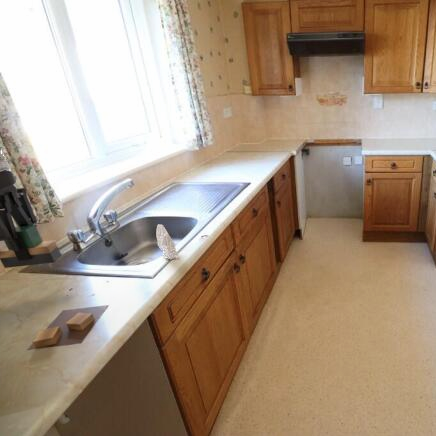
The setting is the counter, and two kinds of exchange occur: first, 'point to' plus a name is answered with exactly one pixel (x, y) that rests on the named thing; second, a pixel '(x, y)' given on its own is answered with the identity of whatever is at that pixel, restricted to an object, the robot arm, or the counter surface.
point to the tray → (73, 335)
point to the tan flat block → (47, 337)
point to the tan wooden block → (80, 321)
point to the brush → (30, 249)
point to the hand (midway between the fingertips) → (30, 255)
